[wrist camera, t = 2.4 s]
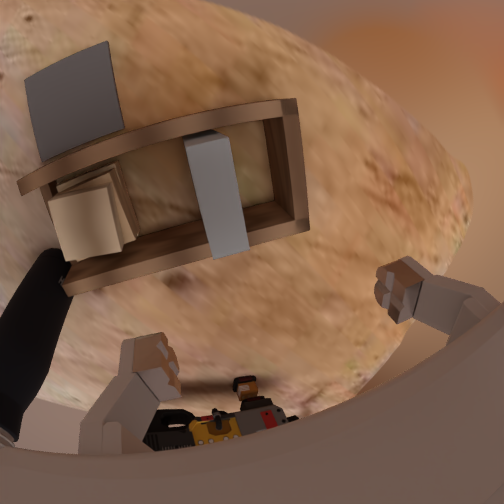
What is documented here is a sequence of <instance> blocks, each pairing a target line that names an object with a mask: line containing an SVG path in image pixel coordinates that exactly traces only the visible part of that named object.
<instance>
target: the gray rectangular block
mask: <svg viewBox="0 0 504 504" xmlns="http://www.w3.org/2000/svg"><path fill="white" fill-rule="evenodd" d="M182 137H183V141H184V146H185V150H186V154H187V159H188V163H189V167H190V172H191V176H192V180H193V184H194V188H195V192H196V196H197V200H198V204H199V208H200V212H201V216H202V220H203V224H204V227H205V231H206V235H207V238H208V242H209V246H210V249H211V253H212V256H213V260H214V259H218V258H222V257H225V256H229V255H232V254H236V253H240V252H243V251H247V250H250V248H249V243H248V237H247V232H246V227H245V221H244V216H243V211H242V205H241V200H240V195H239V189H238V184H237V179H236V173H235V168H234V163H233V157H232V152H231V146H230V141H229V137H227V136H225V135H223V134H221V133H219V132H217V131H214V130H212V129H209V130H205V131H200V132H196V133H192V134H188V135H184V136H182Z"/></svg>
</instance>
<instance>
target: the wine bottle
mask: <svg viewBox="0 0 504 504" xmlns="http://www.w3.org/2000/svg"><path fill="white" fill-rule="evenodd" d="M71 266H72V265H71V263H70V261H65V258H64V255H63V252H62V250H60V249H53V248H51V249H48V250H45V251H44V252H43V253H42V254H40V256H39V257H38V258H37V260H36V261H35V263H34V264H33V266H32V267H31V269H30V270H29V271H28V273H27V274H26V276H25V278H24V279H23V281H22V282H21V284H20V285H19V287H18V288H17V290H16V292H15V293H14V295H13V297H12V298H11V300H10V302H9V303H8V305H7V307H6V309H5V310H4V312H3V314H2V316H1V317H0V449H1V448H2V447H5V446H10V447H15V445H14V443H13V442H17V441H18V439H19V433H20V428H21V422H22V417H23V413H24V412H25V410H26V409H27V408H28V406H29V405H30V403H31V402H32V401H33V399H34V398H35V397H36V395H37V393H38V391H39V390H40V388H41V386H42V384H43V382H44V380H45V378H46V376H47V374H48V372H49V368H50V365H51V361H52V358H53V354H54V351H55V348H56V344H57V341H58V338H59V335H60V332H61V329H62V326H63V323H64V321H65V318H66V315H67V312H68V310H69V307H70V304H71V302H72V299H73V297H74V296H70V297H68V295H67V294H66V292H65V290H64V288H63V287H62V284H63V282H64V280H65V278H66V276H67V274H68V272H69V270H70V268H71Z"/></svg>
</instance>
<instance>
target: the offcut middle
mask: <svg viewBox="0 0 504 504" xmlns="http://www.w3.org/2000/svg"><path fill="white" fill-rule="evenodd" d="M109 182H112V186H113V192H114V197H115V202H116V207H117V211H118V216H119V221H120V225H121V229H122V234H123V238H124V244H126V243H128V242H131V241H134V240H136V237H137V233H138V228H137V225H136V223H135V220H134V218H133V215H132V213H131V210H130V208H129V205H128V203H127V200H126V197H125V195H124V192H123V190H122V187H121V184H120V181H119V179H118V176H117V173H116V170H115V167H114V168H112V169H110V170H107V171H105V172H102V173H100V174H98V175H95V176H93V177H91V178H89V179H86V180H84V181H82V182H80V183H78V184H76V185H74V186H71V187H69V188H67V189H65V190H63V191H61V192H59V193H57V194H56V195H58V194H62V193H66V192H70V191H74V190H78V189H82V188H86V187H91V186H95V185H100V184H104V183H109ZM52 198H53V197H52ZM52 198H51V199H52ZM87 258H88V257H87ZM83 259H86V258H82V259H76V260H77V262H78V261H81V260H83Z"/></svg>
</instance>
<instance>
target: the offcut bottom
mask: <svg viewBox="0 0 504 504" xmlns="http://www.w3.org/2000/svg"><path fill="white" fill-rule="evenodd" d="M114 167H115V170H116V173H117V176H118V179H119V181H120V184H121V187H122V190H123V192H124V195H125V197H126V200H127V203H128V205H129V208H130V210H131V213H132V215H133V218H134V220H135V223H136V225H137V228H138V233H137V236H138V235H139V231H140V227H139V224H138V221H137V218H136V215H135V212H134V209H133V206H132V203H131V200H130V197H129V194H128V191H127V187H126V184H125V181H124V178H123V174H122V171H121V167H120V164H119V160H118V161H115V162H112V163H109V164H106V165H104V166H101V167H98V168H96V169H93V170H90V171H88V172H85V173H83V174H80V175H78V176H75V177H73V178H71V179H68V180H66V181H63V182H62V183H60V184H59V185H58V186H56V188H57V190H58V193H59V192H61V191H63V190H65V189H67V188H69V187H71V186H74V185H76V184H78V183H80V182H82V181H84V180H86V179H89V178H91V177H93V176H95V175H98V174H100V173H102V172H105V171H107V170H110V169H112V168H114Z"/></svg>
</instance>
